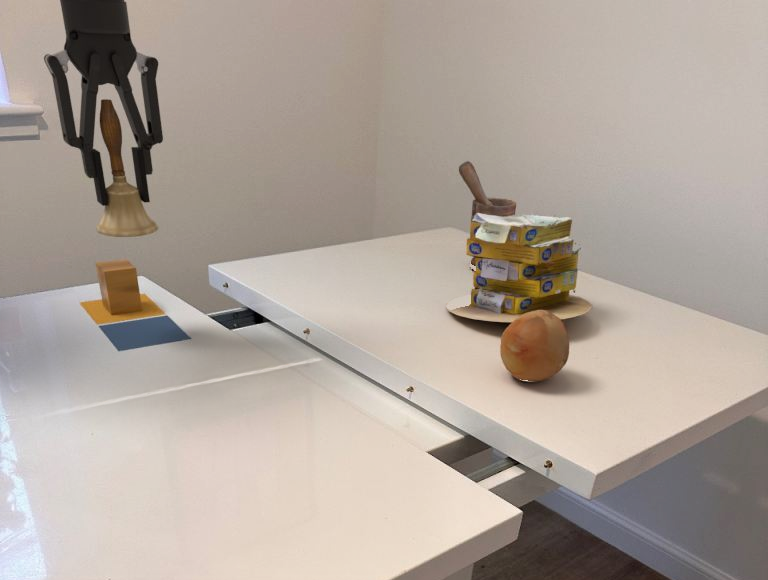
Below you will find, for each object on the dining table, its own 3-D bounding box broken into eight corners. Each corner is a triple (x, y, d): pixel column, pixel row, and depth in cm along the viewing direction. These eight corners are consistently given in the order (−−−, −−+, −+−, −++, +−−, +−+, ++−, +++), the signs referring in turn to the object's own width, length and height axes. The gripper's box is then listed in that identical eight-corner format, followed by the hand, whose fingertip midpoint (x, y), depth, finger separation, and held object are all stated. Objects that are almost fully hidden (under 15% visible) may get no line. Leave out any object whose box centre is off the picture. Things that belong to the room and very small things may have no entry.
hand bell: (100, 239, 96) (77, 103, 87) (93, 224, 103) (70, 95, 93) (163, 235, 100) (147, 104, 90) (152, 220, 106) (136, 96, 96)
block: (102, 305, 119) (95, 262, 115) (133, 301, 121) (126, 259, 117) (111, 315, 115) (103, 271, 111) (142, 310, 118) (136, 267, 114)
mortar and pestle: (461, 277, 143) (473, 167, 131) (445, 264, 149) (455, 158, 138) (513, 274, 146) (530, 167, 134) (495, 261, 153) (509, 158, 141)
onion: (503, 360, 110) (513, 295, 104) (568, 372, 107) (582, 307, 101) (487, 384, 102) (497, 316, 97) (556, 398, 100) (571, 329, 94)
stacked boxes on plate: (419, 301, 130) (427, 203, 120) (526, 285, 140) (541, 194, 131) (503, 352, 113) (520, 242, 103) (617, 329, 123) (642, 228, 114)
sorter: (79, 305, 120) (79, 302, 119) (145, 296, 125) (144, 293, 124) (119, 354, 104) (118, 351, 104) (191, 341, 110) (191, 338, 109)
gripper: (17, -10, 79) (61, 213, 92) (176, -1, 87) (196, 202, 101) (5, -12, 84) (48, 200, 97) (156, -3, 92) (177, 191, 106)
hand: (123, 201), depth 99 cm, fingers closed on hand bell, 5 cm apart
